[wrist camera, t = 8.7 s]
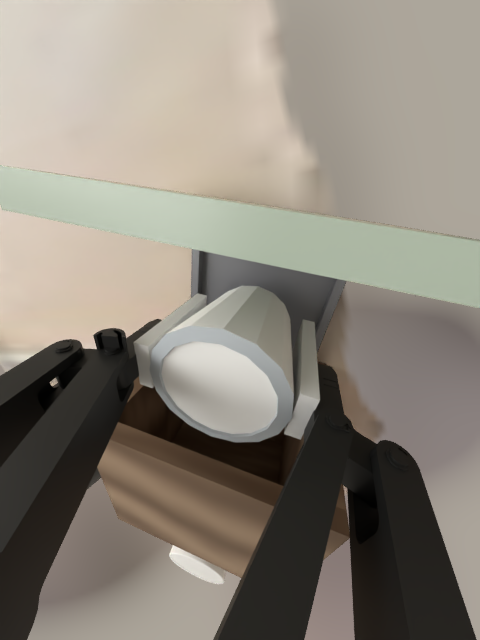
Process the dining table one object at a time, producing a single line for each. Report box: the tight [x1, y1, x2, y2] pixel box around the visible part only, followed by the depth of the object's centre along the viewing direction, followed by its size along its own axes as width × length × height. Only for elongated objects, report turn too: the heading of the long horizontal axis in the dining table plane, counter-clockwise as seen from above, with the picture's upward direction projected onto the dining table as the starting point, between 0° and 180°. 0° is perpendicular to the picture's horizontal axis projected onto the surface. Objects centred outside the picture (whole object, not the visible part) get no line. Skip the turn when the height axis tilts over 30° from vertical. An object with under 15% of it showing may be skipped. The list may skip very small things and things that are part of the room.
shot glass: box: [149, 286, 294, 442], centre depth 12 cm, size 7×7×7 cm
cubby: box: [97, 362, 350, 578], centre depth 20 cm, size 14×15×12 cm
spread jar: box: [169, 545, 226, 584], centre depth 29 cm, size 12×11×12 cm
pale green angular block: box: [0, 165, 480, 352], centre depth 13 cm, size 13×15×11 cm
